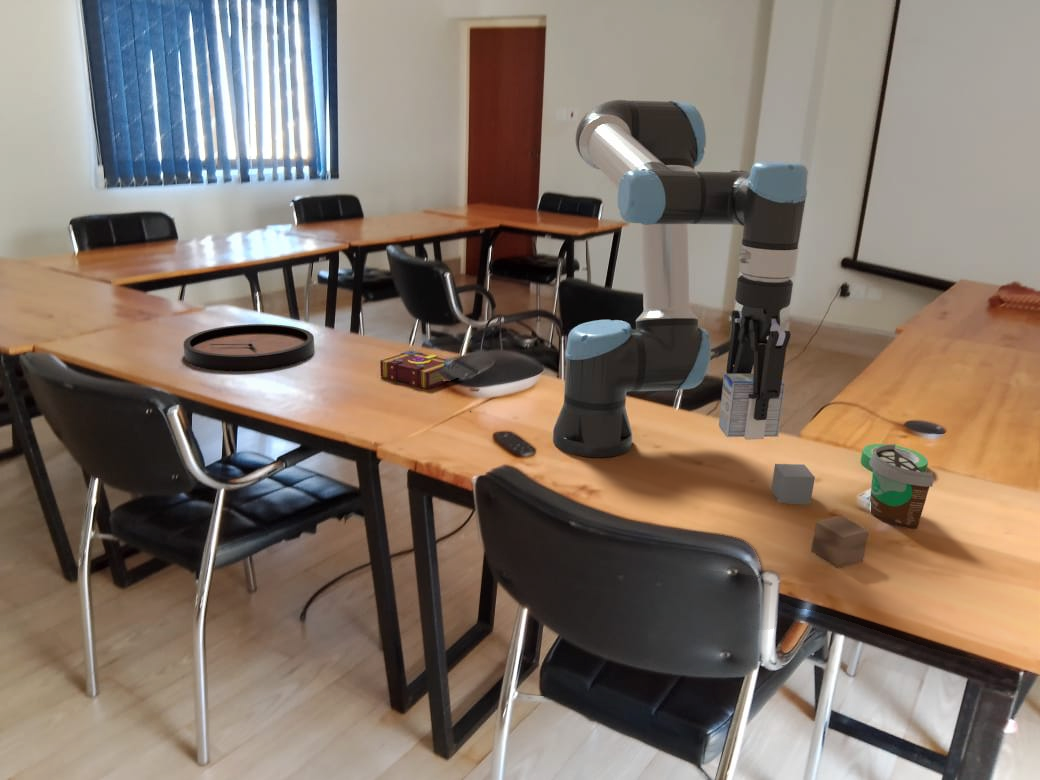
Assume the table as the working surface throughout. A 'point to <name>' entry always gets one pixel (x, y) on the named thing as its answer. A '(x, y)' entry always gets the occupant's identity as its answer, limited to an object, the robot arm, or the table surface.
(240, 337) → the wall clock
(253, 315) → the table surface
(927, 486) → the food container
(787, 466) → the slate grey block
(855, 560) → the walnut block
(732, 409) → the medicine box
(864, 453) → the tape roll
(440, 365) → the decorative book
